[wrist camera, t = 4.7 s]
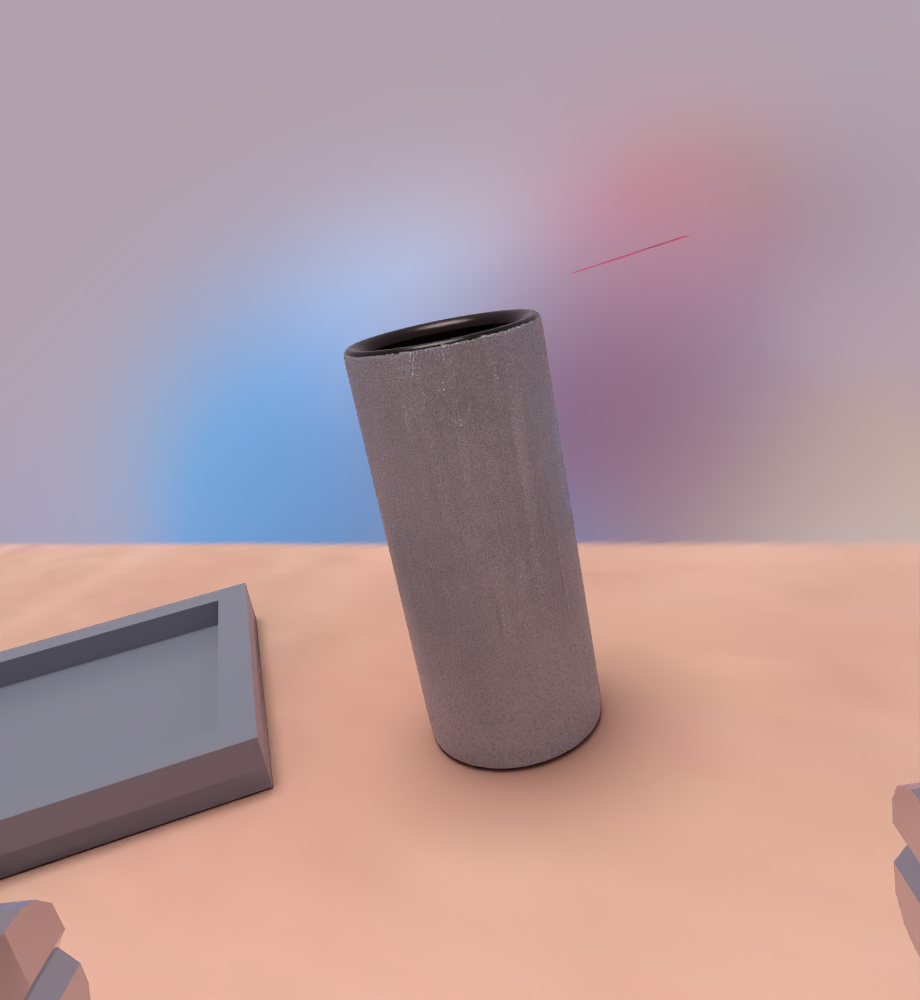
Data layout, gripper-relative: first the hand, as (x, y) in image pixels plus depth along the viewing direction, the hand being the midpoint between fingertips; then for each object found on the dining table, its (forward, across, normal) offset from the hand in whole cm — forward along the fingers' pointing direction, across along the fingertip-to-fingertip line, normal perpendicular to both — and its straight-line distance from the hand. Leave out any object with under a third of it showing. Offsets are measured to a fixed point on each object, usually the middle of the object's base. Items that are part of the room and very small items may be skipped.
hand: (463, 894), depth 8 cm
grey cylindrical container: (+12, 0, -6) cm, 14 cm away
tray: (+14, -13, -6) cm, 20 cm away
